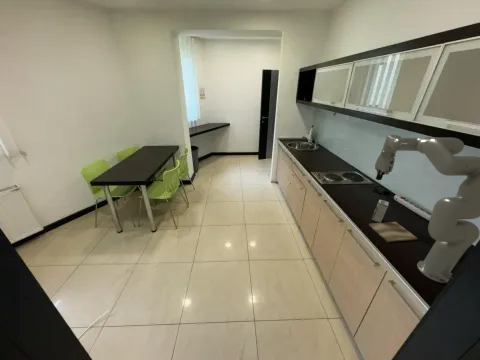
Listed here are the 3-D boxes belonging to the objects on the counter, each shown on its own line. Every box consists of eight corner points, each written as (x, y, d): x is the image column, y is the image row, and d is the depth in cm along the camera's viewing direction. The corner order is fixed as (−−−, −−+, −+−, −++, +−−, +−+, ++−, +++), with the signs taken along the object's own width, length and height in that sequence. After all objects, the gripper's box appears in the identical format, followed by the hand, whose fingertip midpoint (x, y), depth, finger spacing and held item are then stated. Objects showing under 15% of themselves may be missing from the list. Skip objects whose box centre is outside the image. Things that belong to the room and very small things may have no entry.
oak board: (416, 239, 121) (417, 238, 120) (387, 242, 119) (388, 240, 118) (395, 223, 135) (395, 221, 135) (368, 225, 133) (369, 223, 132)
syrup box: (372, 216, 142) (379, 199, 136) (382, 219, 139) (389, 202, 133) (371, 219, 138) (378, 202, 132) (381, 223, 135) (388, 205, 129)
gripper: (402, 158, 122) (391, 184, 130) (384, 150, 135) (375, 174, 143) (391, 158, 121) (381, 184, 129) (374, 150, 134) (365, 175, 142)
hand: (378, 179), depth 136 cm, fingers closed
